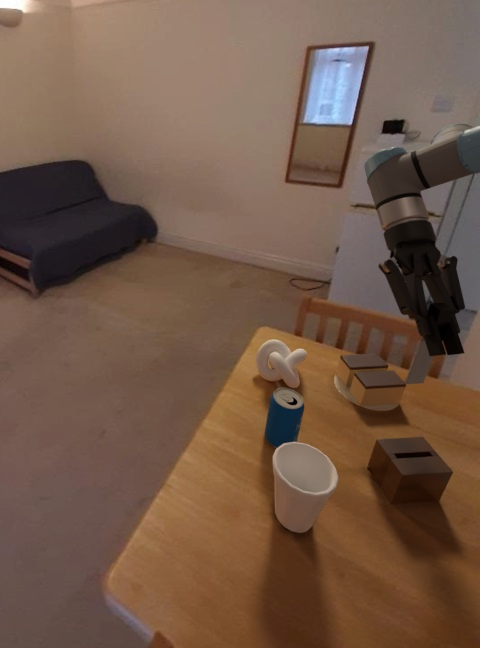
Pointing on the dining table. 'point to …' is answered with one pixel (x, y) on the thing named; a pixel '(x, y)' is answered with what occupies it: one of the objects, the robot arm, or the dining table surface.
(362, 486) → the dining table surface
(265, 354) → the white knot sculpture
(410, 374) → the knife
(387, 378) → the cake
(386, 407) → the plate
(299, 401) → the beverage can
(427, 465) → the knife block
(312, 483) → the cup
